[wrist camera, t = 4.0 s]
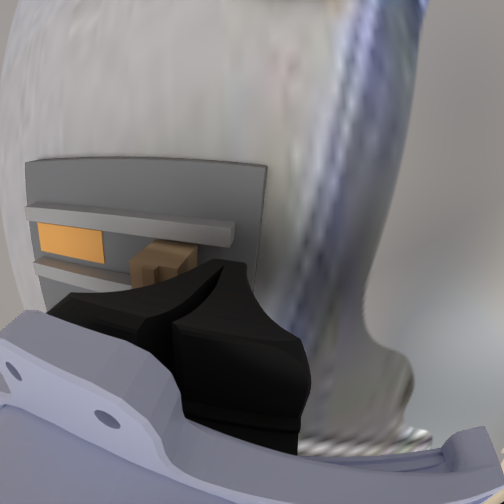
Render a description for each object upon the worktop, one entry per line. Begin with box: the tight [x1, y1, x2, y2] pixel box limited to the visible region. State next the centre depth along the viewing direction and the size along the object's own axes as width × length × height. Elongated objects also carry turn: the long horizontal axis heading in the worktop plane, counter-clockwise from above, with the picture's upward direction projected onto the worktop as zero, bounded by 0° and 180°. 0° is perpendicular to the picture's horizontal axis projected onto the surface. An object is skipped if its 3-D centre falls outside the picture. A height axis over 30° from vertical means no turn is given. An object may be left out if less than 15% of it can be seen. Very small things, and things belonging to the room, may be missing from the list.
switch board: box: [25, 157, 267, 313], centre depth 15 cm, size 16×14×2 cm
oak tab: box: [129, 239, 198, 289], centre depth 12 cm, size 2×2×3 cm
